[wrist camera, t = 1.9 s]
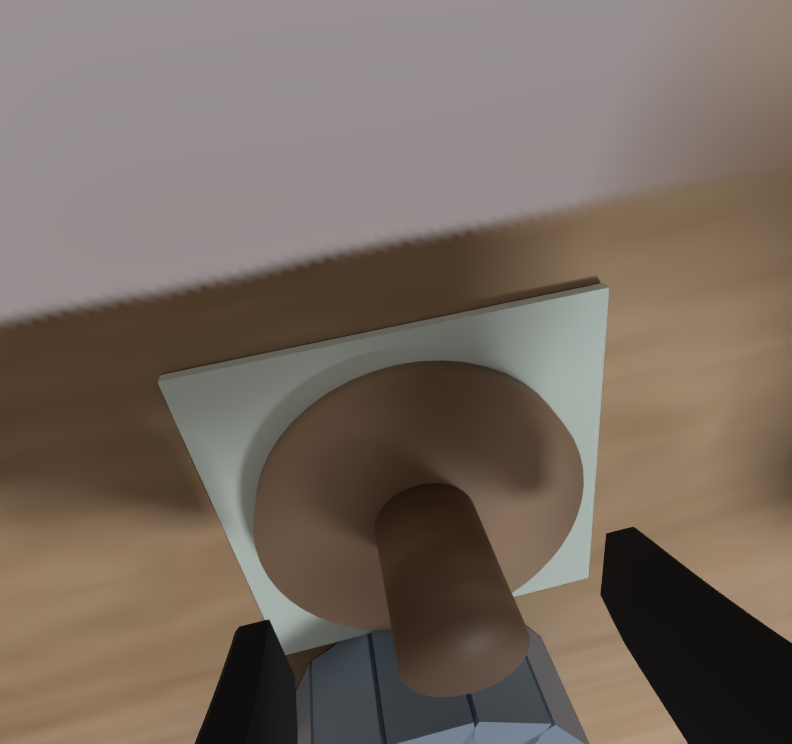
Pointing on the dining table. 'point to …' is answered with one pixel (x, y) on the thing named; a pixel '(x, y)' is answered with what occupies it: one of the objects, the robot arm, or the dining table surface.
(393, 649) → the bowl
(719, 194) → the dining table surface
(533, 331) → the mat
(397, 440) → the lid
